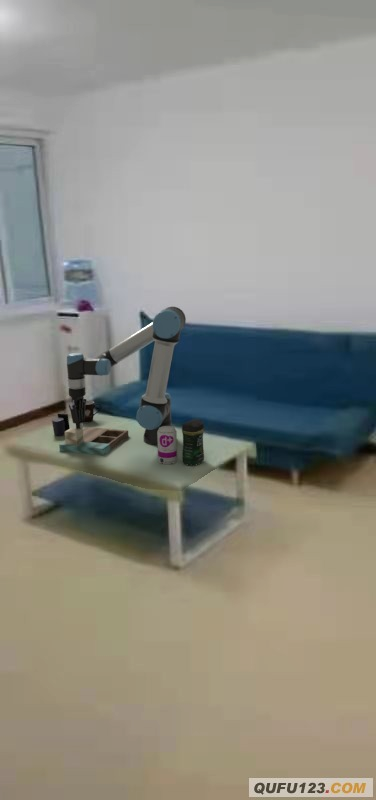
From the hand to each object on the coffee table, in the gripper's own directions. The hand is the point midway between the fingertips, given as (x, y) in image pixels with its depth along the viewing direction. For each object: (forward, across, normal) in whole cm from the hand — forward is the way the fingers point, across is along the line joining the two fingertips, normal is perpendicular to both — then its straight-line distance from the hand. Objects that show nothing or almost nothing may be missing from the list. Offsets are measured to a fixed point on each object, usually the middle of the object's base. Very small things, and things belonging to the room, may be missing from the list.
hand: (79, 436), depth 291 cm
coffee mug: (+5, -38, -14) cm, 41 cm away
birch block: (+2, +5, 0) cm, 5 cm away
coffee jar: (+4, +7, +58) cm, 58 cm away
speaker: (+5, -13, -17) cm, 22 cm away
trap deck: (+5, -5, +5) cm, 8 cm away
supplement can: (+4, +9, +47) cm, 48 cm away
